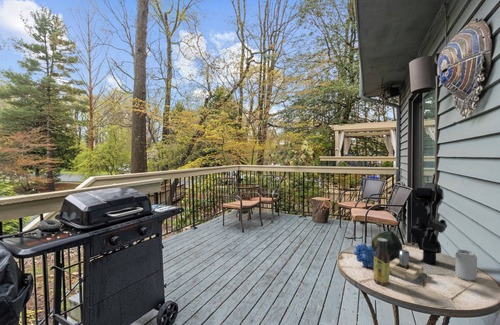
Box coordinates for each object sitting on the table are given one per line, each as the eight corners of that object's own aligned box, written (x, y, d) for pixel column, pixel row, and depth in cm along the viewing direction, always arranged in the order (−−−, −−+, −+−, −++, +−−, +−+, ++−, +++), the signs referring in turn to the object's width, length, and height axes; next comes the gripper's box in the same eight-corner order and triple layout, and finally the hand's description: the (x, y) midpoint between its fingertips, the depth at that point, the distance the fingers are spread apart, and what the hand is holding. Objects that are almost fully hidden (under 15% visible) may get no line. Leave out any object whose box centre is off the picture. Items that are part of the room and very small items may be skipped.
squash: (365, 239, 150) (374, 226, 140) (391, 240, 150) (401, 227, 139) (373, 262, 140) (382, 250, 130) (400, 263, 139) (412, 251, 129)
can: (471, 274, 117) (472, 249, 116) (480, 282, 110) (480, 256, 109) (452, 272, 119) (452, 248, 119) (459, 280, 112) (460, 254, 112)
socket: (392, 264, 128) (392, 257, 128) (426, 276, 116) (426, 267, 116) (381, 272, 121) (381, 264, 121) (416, 284, 109) (416, 275, 109)
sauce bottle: (370, 279, 114) (370, 236, 114) (383, 278, 115) (383, 236, 114) (379, 287, 108) (379, 242, 107) (392, 286, 108) (392, 241, 108)
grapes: (352, 267, 127) (352, 244, 126) (354, 262, 132) (354, 240, 132) (378, 272, 120) (378, 248, 120) (379, 267, 126) (379, 243, 126)
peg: (401, 269, 121) (401, 249, 121) (410, 272, 118) (410, 251, 118) (397, 271, 119) (397, 251, 119) (406, 274, 116) (407, 253, 115)
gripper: (438, 220, 107) (437, 255, 108) (451, 213, 119) (450, 245, 119) (409, 215, 116) (409, 248, 117) (424, 209, 128) (423, 239, 128)
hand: (424, 245), depth 120 cm, fingers open, 9 cm apart
